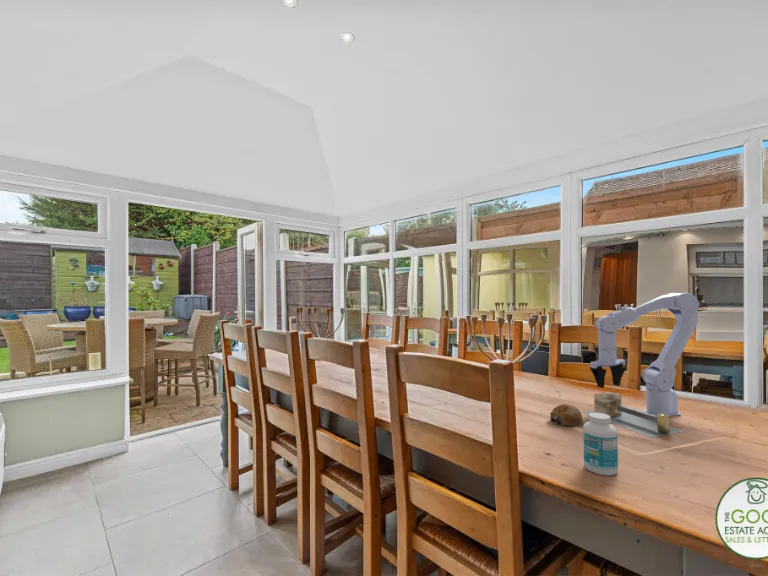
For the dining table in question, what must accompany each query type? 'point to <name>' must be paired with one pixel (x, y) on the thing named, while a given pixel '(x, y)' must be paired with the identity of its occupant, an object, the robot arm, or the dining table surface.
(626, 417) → the base board
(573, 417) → the bread roll
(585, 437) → the pill bottle
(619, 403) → the eye block
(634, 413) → the hook rod
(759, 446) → the dining table surface
